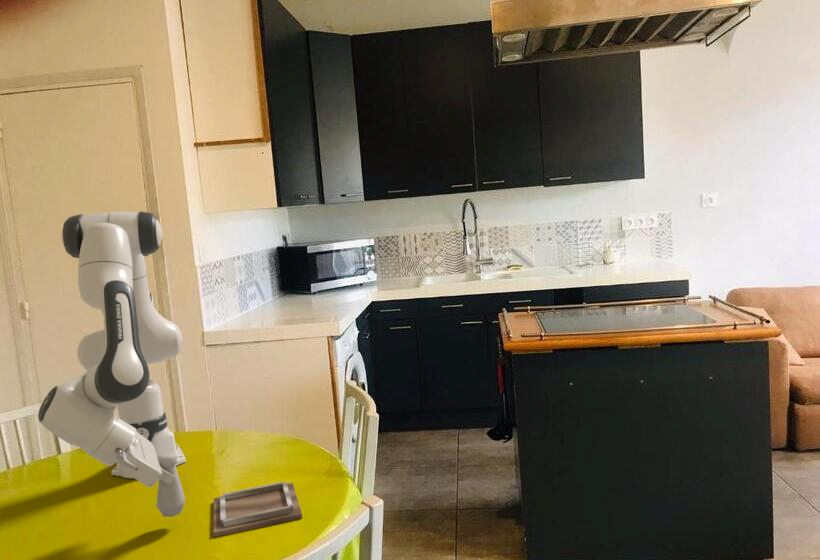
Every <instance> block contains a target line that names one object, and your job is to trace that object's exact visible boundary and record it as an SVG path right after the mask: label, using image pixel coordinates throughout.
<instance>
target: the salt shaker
mask: <svg viewBox="0 0 820 560" xmlns="http://www.w3.org/2000/svg"><path fill="white" fill-rule="evenodd" d="M157 458H158V461H159V464H160V467H161V468H162V469H164V470H165V471H167V472H168V471H169V472H170V473H172V474H174V477H175V479H174V481H173V482H172V483H171V484H168V483H167V482H165V481H162V480H159V479H158V487H157V495H156V504H155V505H156V508H157V509H158V511H160V513H161V515H162V517H170V518H172V517H175V516H177V515H180V514H181V513H182V512H183V509H184V506H185V503H186V497H185V493H184V491H183V486H182V483H181V480H180V476H179V473H178V470H177V465H176V466H175V464H177V454H175V453H174V452H165V453H162V454H160V455H158V456H157Z"/></svg>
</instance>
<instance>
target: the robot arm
mask: <svg viewBox="0 0 820 560" xmlns="http://www.w3.org/2000/svg"><path fill="white" fill-rule="evenodd" d="M162 228H163V227H162V226H161V223H160V221H159V219H158V217H157V216H156V215H155V214H154V213H151V212H149V211H141V210H140V211H139V212H135V211H119V210H118V211H110V212H99V213H98V212H97V213H92V214H91V213H90V214H85V215H84V214H83V213H82V214H76V215H72V216H70V217H68V218H67V219H66V220H65V221H64V222H63V226H62V231H61V242H62V245H63V247H64V249H65V251H66V253H67V254H68V255H69V256H71V257H72V258H75V259H78V268H77V270H78V271H77V282H78V285H77V286H78V291H79V295H80V297H81V299H82V301H83V302H84V303H86V304H87V305H88V306H90V307H92V308H94V309H95V310H96V309H97V310H101V312H102V316H103V326H104V327H103V328H104V329H102V330H99V331H95V332H92V333H90V334H89V333H88V335H87V334H86V335H84V336H83V337H82V338H81V340H80V342H79V343H78V347H77V359H78V362H79V363H80V365H81V366H82V368H83V369H85V372H83V373H81V374H80V375H79V376H77V377H75V378H73V379H72V380H70V381H67V382H66V383H63V384H60V385H55V386H54V387H52V389H51V390H49V392H48V393H47V395H46V396H45V397H44V399H43V401H42V402H41V405H40V407H39V410H38V415H37V416H38V417H37V418H38V421H39V422H40V424H41V425H42V426H43V427H44V428H45V429H46V430H48V431H49V432H50V433H52V434H53V435H55V436H56V437H58V438H59V439H60V440H63V441H64V442H66V443H67V444H69V445H72V446H76V447H79V448H80V449H82V450H83V451H84V452H85V453H86V454H87V455H89V456H90V457H92V458H93V459H95V460H97V461H99V462H100V463H102V464H103V465H105V466H107V467H111V466H113V465H115V463H116V466H115V467H113V469H112V470H111V471H110V472H111V476H113V475H115V477H121V478H126V479H134V480H137V481H138V482H140V483H141V484H143V485H144V486H147V487H150V488H152V487H154V486H155V485H156V483H157V482H159V480H162V481H165V482H167V483H168V484H171V483H172V482H173V481H174V479H175V477H174V474H172V473H170V472H169V471H168V472H167V471H165V470H164V469H162V468H161V467H160V464H159V461H158V458H157V456H158V455H160V454H162V453H165V452H174V453H175V454H177V464H175V466H176V467H177V466H179V465H181V464H183V463H185V462H187V460H186V457H185V455H184V453H183V451H182V449H181V448H180V445H179V444H178V443H176V440H175V434H174V433H173V432H172V431H171V430H170V429H169V427H168V418H167V415H166V412H165V411H164V405H163V398H162V390H161V387H160V385H159V384H158V383H157V382H156V381H154V380H152V379H150V370H149V365H152V364H155V363H161V362H164V361H167V360H169V359H172V358H174V357H176V356H178V355H179V354H180V352H181V350H182V347H183V343H184V337H183V333H182V332H181V329H180V328H179V327H178V325H177V324H175V323H174V322H173V321H171V320H169V319H166V318H165V317H164V316H162V315H161V314H160V313H159V311H158V310H157V309H156V308H155V306H154V304H153V301H152V298H151V294H150V288H149V283H148V281H149V280H148V273H147V272H148V271H147V266H146V261H145V257H149V256H150V255H152V254H154V253H156V252H157V250H159V249H160V248H161V247H160V246H161V244H162V240H163V229H162ZM116 409H117V413H118V416H116V414H115V413H114V411H115V410H116Z"/></svg>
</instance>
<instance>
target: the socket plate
mask: <svg viewBox="0 0 820 560" xmlns="http://www.w3.org/2000/svg"><path fill="white" fill-rule="evenodd" d="M301 519H303V513H302V511H301V506H300V502H299V500H298V497H297V494H296V489H295V487H294V483H293V481H292V482H285V481H281V482H280V481H279V482H274V483H270V484H264V485H261V486H254V487H250V488H249V487H248V488H245V489H240V490H235V491H231V492H224V493H222V495H220V496H218V497H214V498H213V537H214V538H216V537H217V538H218V537H220V536H226V535H231V534H236V533H240V532H239V531H241V532H245V531H250V530H254V529H258V528H259V529H260V528H263V527H267V526H268V527H269V526H272V525H277V524H282V523H286V522H290V521H296V520H301ZM253 528H254V529H253ZM249 529H250V530H249ZM244 530H245V531H244ZM235 532H236V533H235Z"/></svg>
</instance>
